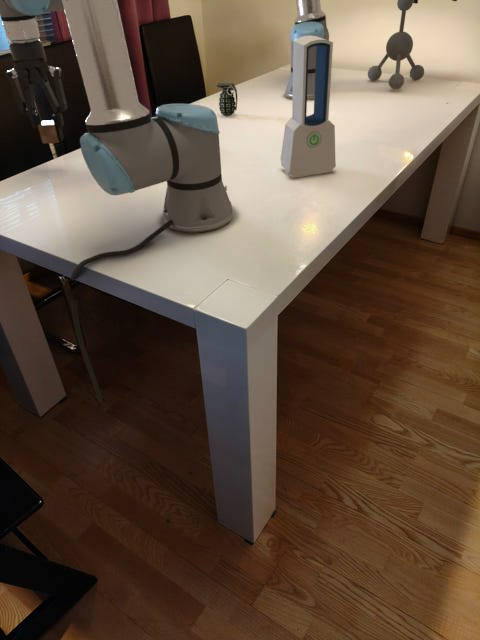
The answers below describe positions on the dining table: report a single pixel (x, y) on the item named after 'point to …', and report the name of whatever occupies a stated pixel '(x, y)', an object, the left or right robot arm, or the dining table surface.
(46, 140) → the block
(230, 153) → the dining table surface
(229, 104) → the grenade
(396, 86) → the molecular model
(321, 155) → the electronic device
